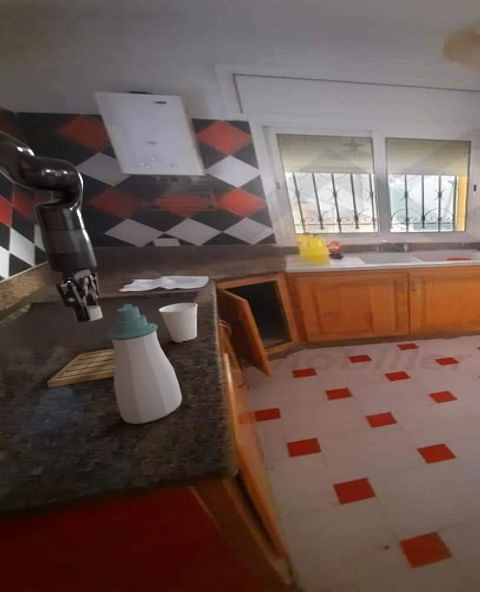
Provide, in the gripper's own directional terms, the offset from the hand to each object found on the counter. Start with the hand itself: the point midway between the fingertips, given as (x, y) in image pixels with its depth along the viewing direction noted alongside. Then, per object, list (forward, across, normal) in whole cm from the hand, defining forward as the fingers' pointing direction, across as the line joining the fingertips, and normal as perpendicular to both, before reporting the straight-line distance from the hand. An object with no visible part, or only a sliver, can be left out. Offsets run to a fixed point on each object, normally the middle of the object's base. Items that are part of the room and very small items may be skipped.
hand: (89, 317), depth 78 cm
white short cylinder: (0, 0, 0) cm, 0 cm away
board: (+15, -5, 0) cm, 16 cm away
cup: (+15, -17, +14) cm, 27 cm away
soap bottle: (+15, +26, +16) cm, 34 cm away
